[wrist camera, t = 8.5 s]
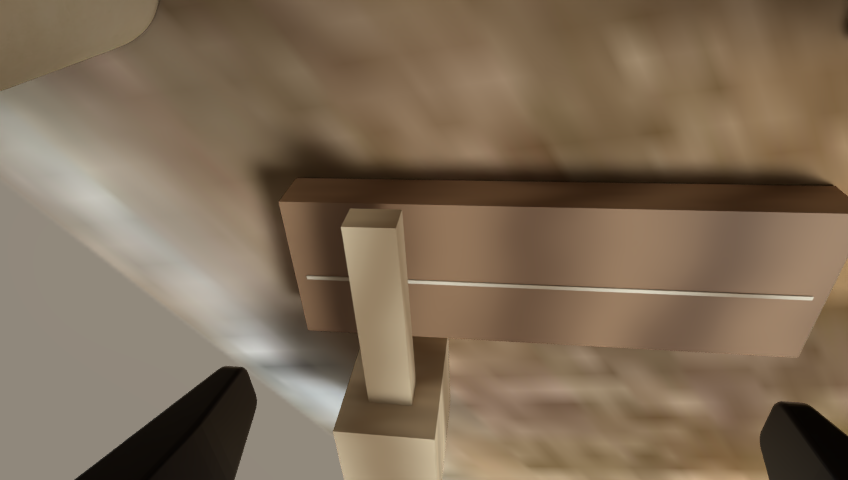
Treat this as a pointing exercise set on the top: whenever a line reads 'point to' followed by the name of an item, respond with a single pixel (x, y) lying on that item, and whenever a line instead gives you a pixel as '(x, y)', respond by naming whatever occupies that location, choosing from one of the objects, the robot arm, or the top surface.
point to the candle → (64, 33)
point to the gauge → (389, 363)
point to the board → (586, 260)
